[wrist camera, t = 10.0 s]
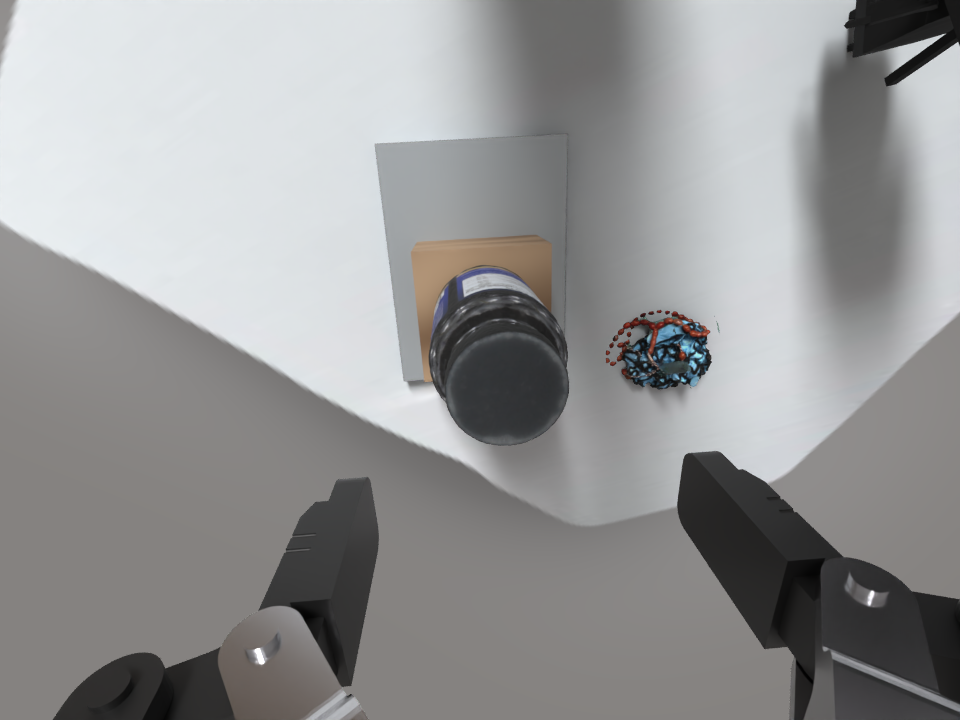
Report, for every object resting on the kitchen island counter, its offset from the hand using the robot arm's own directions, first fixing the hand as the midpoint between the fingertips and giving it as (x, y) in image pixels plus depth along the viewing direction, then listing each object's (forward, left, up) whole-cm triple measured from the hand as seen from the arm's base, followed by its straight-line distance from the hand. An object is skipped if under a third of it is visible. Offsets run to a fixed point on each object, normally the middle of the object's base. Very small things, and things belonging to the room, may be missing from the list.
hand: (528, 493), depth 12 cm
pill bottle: (0, 0, -17) cm, 17 cm away
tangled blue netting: (+5, +14, -24) cm, 28 cm away
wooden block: (0, 0, -22) cm, 22 cm away
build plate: (-2, 0, -23) cm, 23 cm away
